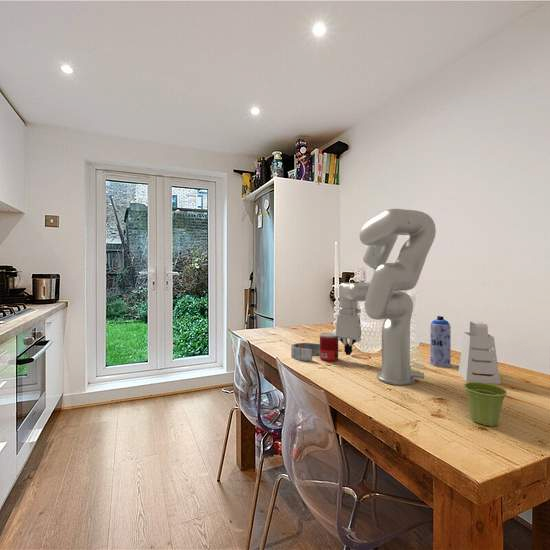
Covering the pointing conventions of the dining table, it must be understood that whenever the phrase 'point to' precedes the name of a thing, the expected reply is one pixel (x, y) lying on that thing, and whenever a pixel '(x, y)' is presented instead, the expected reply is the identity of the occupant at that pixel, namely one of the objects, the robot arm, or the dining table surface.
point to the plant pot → (485, 402)
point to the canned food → (328, 347)
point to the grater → (479, 355)
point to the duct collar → (304, 351)
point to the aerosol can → (440, 343)
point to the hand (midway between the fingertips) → (348, 354)
